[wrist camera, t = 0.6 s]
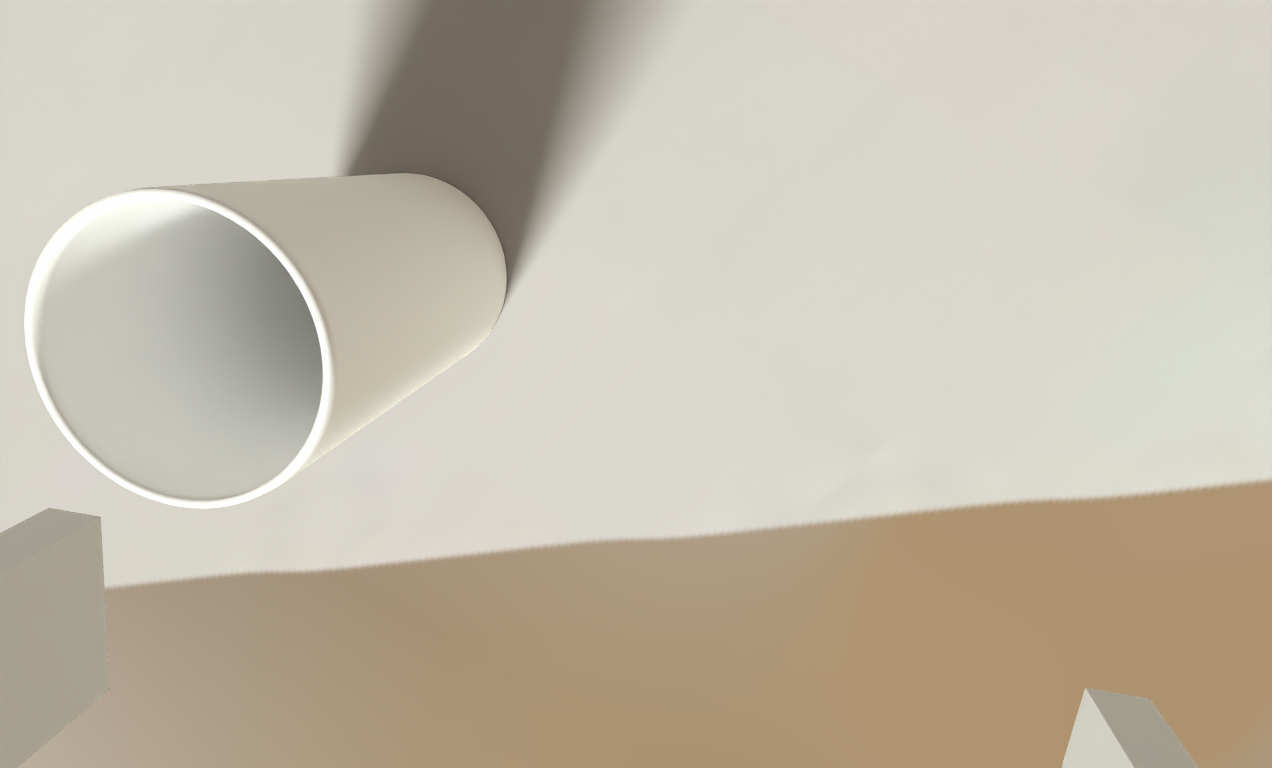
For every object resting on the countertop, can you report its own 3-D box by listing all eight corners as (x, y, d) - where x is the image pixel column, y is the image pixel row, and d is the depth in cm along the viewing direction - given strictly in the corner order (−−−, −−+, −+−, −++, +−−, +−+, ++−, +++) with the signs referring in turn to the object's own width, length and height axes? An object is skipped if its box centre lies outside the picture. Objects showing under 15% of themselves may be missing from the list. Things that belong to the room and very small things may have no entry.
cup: (392, 130, 36) (124, 113, 21) (546, 264, 37) (396, 344, 21) (283, 281, 38) (-32, 366, 23) (430, 405, 39) (218, 570, 23)
